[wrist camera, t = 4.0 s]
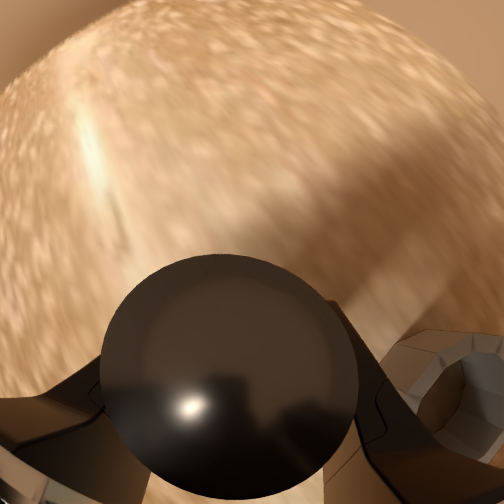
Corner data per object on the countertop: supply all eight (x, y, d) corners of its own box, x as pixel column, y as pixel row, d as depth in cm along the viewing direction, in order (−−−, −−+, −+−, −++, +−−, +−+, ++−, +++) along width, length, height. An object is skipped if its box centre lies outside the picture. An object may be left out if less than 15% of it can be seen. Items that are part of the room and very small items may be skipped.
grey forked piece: (451, 541, 10) (474, 570, 5) (300, 554, 12) (302, 600, 7) (531, 342, 13) (578, 343, 8) (382, 322, 15) (421, 325, 10)
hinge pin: (293, 378, 15) (315, 516, 3) (220, 361, 16) (91, 450, 4) (310, 305, 16) (383, 283, 4) (236, 290, 16) (127, 232, 5)
